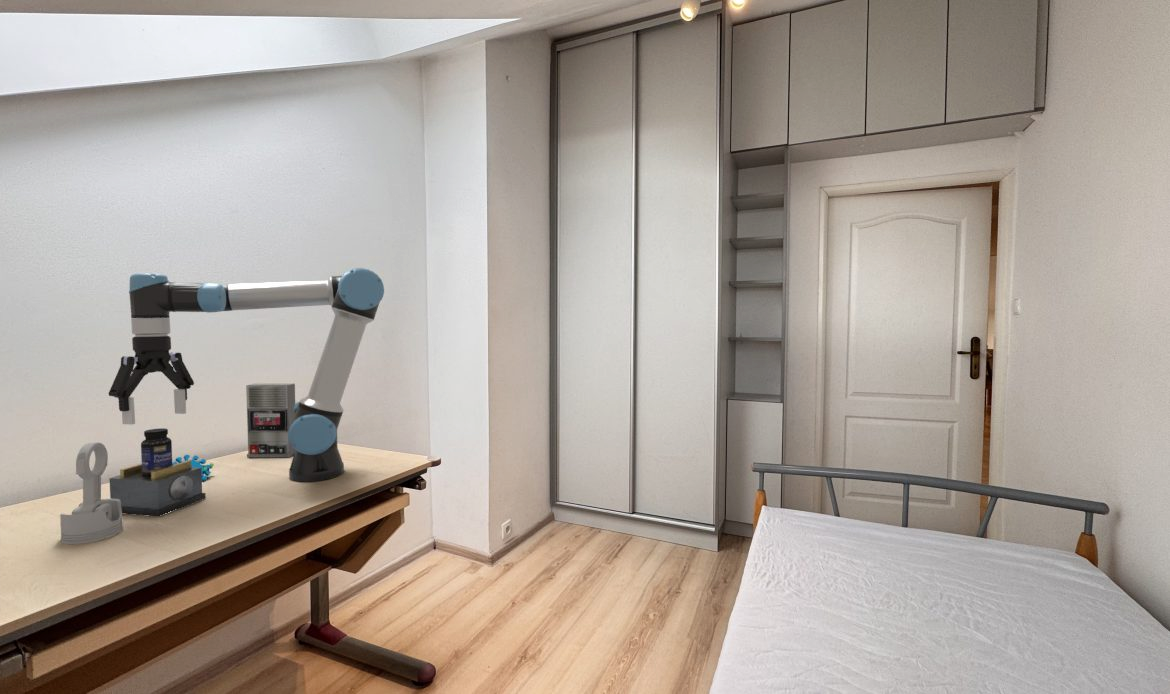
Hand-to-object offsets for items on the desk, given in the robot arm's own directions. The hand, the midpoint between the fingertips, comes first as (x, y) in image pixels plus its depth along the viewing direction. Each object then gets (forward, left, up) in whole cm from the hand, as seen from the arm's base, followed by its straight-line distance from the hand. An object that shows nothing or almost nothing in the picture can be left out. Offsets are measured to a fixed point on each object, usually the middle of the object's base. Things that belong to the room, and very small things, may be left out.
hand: (156, 418), depth 134 cm
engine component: (-3, +18, -23) cm, 29 cm away
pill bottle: (0, 0, -14) cm, 14 cm away
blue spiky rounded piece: (+9, -18, -23) cm, 31 cm away
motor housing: (0, 0, -23) cm, 23 cm away
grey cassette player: (+7, -47, -23) cm, 53 cm away
